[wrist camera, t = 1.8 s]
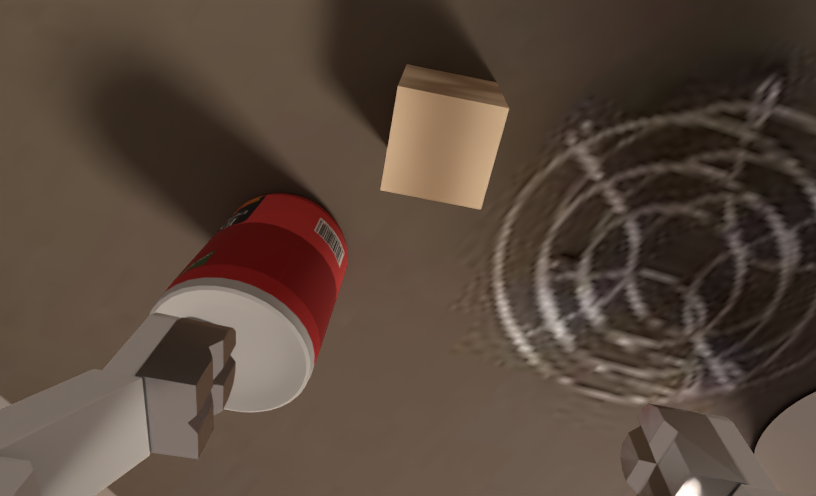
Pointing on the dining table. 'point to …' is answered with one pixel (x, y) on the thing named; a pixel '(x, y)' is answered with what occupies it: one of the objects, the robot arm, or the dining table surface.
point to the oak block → (444, 136)
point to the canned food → (266, 294)
